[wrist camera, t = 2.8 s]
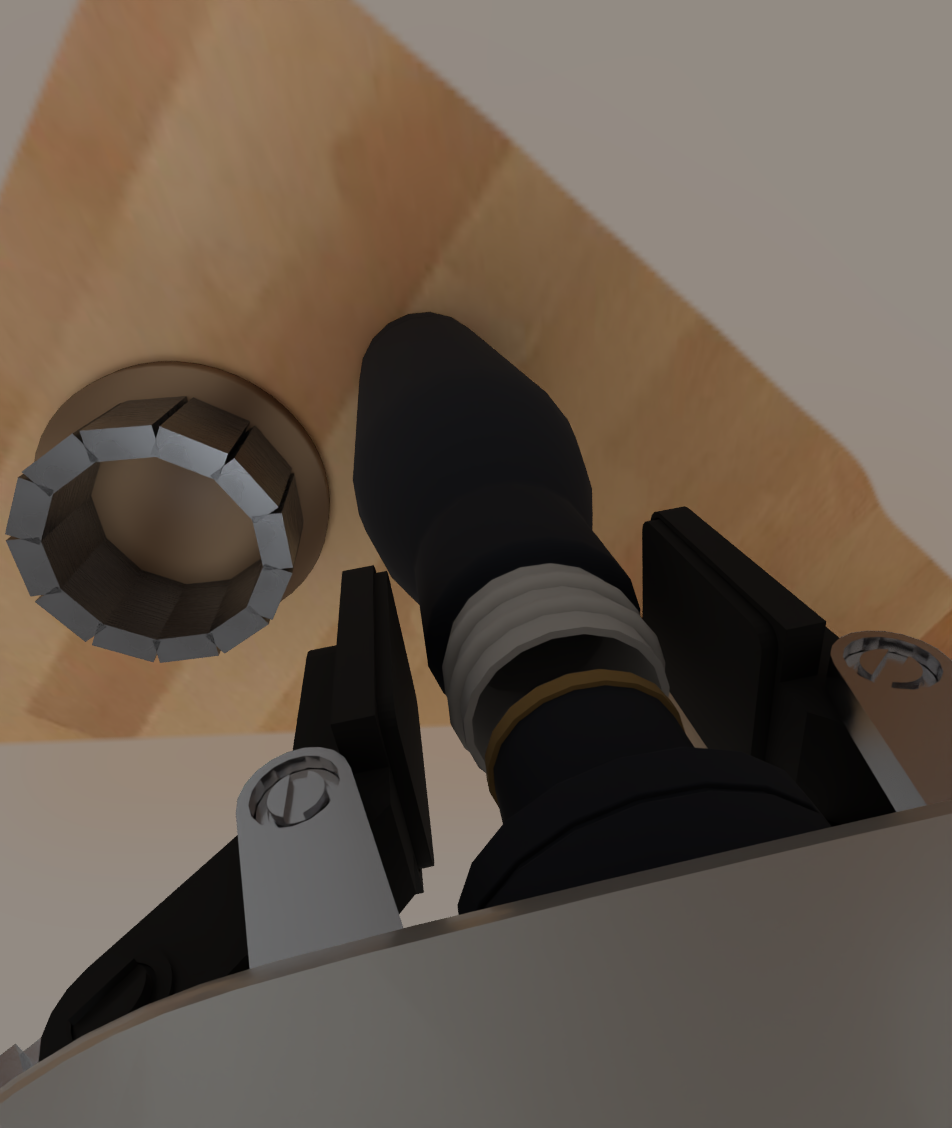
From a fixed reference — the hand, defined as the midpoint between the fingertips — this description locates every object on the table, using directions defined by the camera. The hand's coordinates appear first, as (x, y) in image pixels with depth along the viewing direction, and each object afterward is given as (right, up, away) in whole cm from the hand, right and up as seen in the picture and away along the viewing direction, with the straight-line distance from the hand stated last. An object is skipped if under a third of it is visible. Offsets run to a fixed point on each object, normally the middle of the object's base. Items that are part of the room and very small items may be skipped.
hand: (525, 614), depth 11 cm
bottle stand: (-15, +4, +20) cm, 25 cm away
